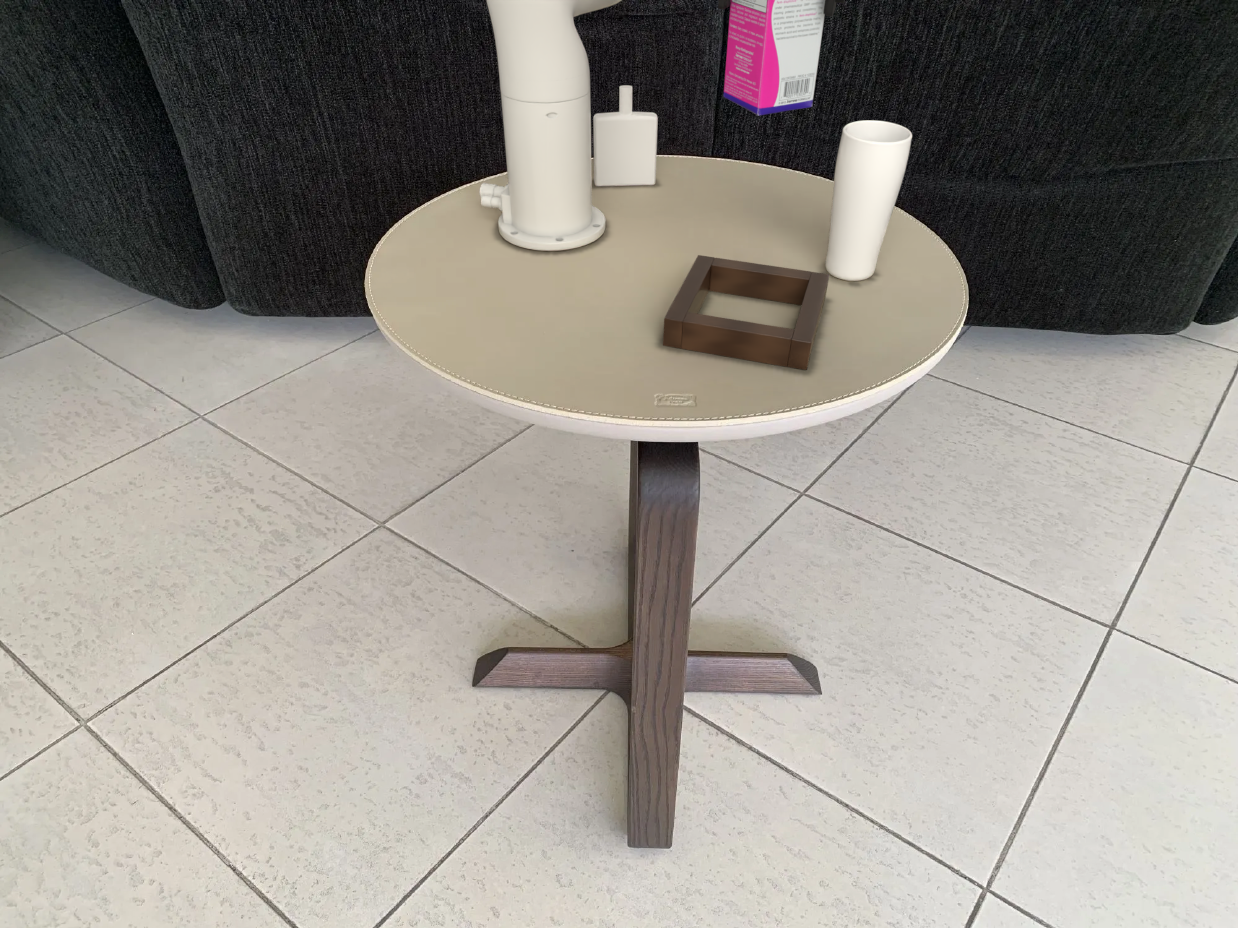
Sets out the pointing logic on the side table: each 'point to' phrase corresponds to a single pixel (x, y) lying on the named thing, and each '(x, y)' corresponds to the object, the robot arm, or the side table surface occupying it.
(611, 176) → the perfume bottle
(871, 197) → the drinking glass
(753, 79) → the supplement box
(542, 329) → the side table surface
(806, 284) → the socket
